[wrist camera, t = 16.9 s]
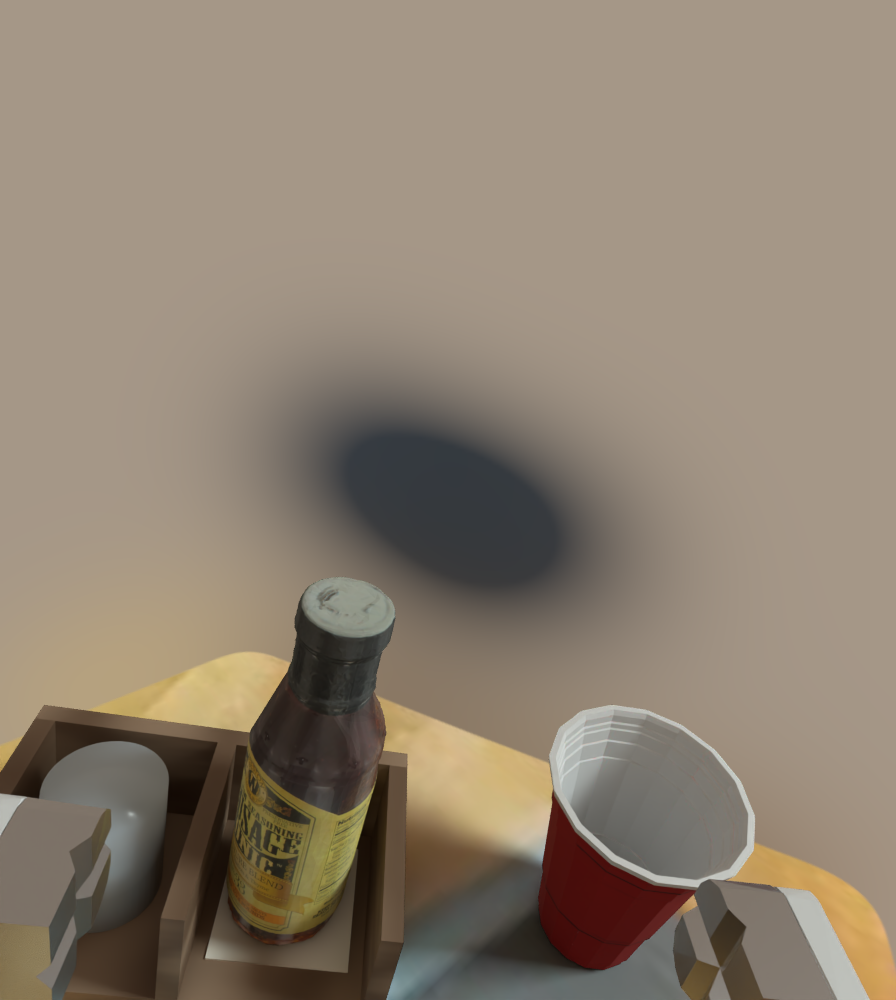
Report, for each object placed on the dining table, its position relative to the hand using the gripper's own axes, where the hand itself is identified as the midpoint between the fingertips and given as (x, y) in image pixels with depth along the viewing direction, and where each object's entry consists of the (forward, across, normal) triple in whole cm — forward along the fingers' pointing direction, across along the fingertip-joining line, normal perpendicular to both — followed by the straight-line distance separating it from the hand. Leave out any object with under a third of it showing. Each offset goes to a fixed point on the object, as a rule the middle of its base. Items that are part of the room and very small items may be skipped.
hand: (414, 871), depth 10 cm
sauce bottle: (+19, +2, +29) cm, 35 cm away
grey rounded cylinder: (+19, +11, +29) cm, 36 cm away
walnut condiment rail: (+19, +6, +30) cm, 36 cm away
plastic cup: (+20, -16, +30) cm, 40 cm away
